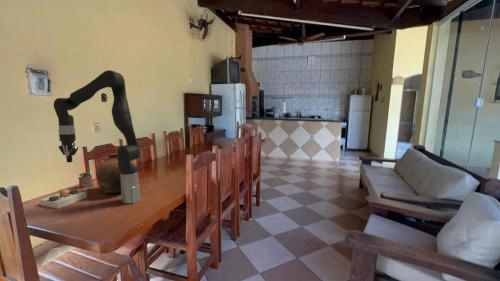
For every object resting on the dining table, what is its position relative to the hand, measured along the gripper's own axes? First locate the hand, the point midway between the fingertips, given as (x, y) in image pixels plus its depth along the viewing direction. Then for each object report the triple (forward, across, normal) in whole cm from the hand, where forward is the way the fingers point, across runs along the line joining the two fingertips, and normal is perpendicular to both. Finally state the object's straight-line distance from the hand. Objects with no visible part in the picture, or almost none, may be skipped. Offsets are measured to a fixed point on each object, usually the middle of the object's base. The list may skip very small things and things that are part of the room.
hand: (69, 162), depth 142 cm
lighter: (+22, +8, -15) cm, 28 cm away
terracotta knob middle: (+18, -2, +6) cm, 19 cm away
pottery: (+22, -17, -17) cm, 33 cm away
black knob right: (+20, -2, +1) cm, 20 cm away
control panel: (+21, -2, +6) cm, 22 cm away
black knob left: (+20, -2, +12) cm, 23 cm away
